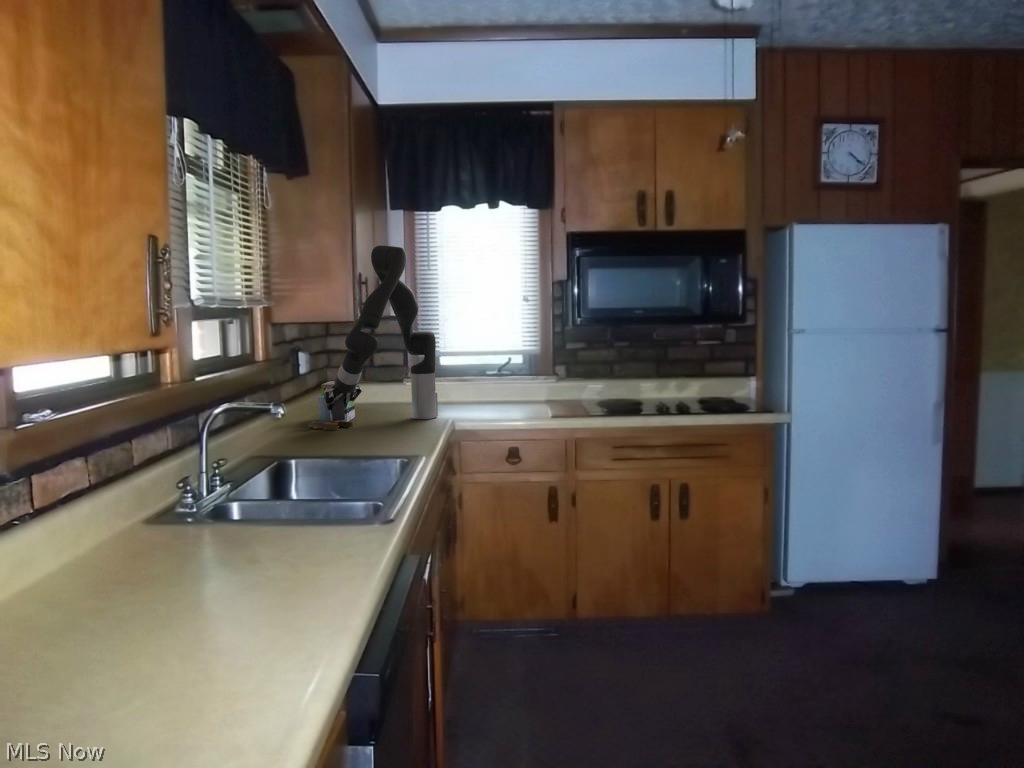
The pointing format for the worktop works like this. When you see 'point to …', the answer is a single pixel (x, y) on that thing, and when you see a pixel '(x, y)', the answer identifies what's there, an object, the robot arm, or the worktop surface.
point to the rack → (330, 424)
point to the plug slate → (323, 410)
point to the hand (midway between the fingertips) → (335, 407)
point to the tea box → (350, 406)
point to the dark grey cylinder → (338, 410)
